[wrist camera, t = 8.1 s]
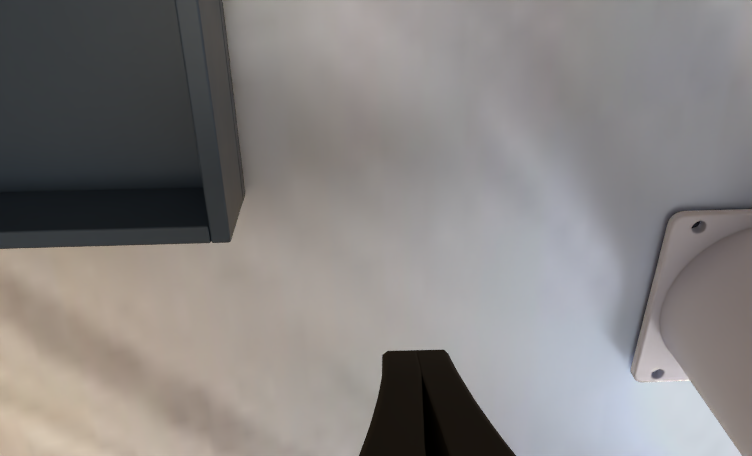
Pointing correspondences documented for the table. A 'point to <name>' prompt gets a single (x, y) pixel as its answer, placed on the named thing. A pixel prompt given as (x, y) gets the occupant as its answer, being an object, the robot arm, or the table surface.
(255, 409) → the table surface
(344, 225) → the table surface
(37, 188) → the tray
